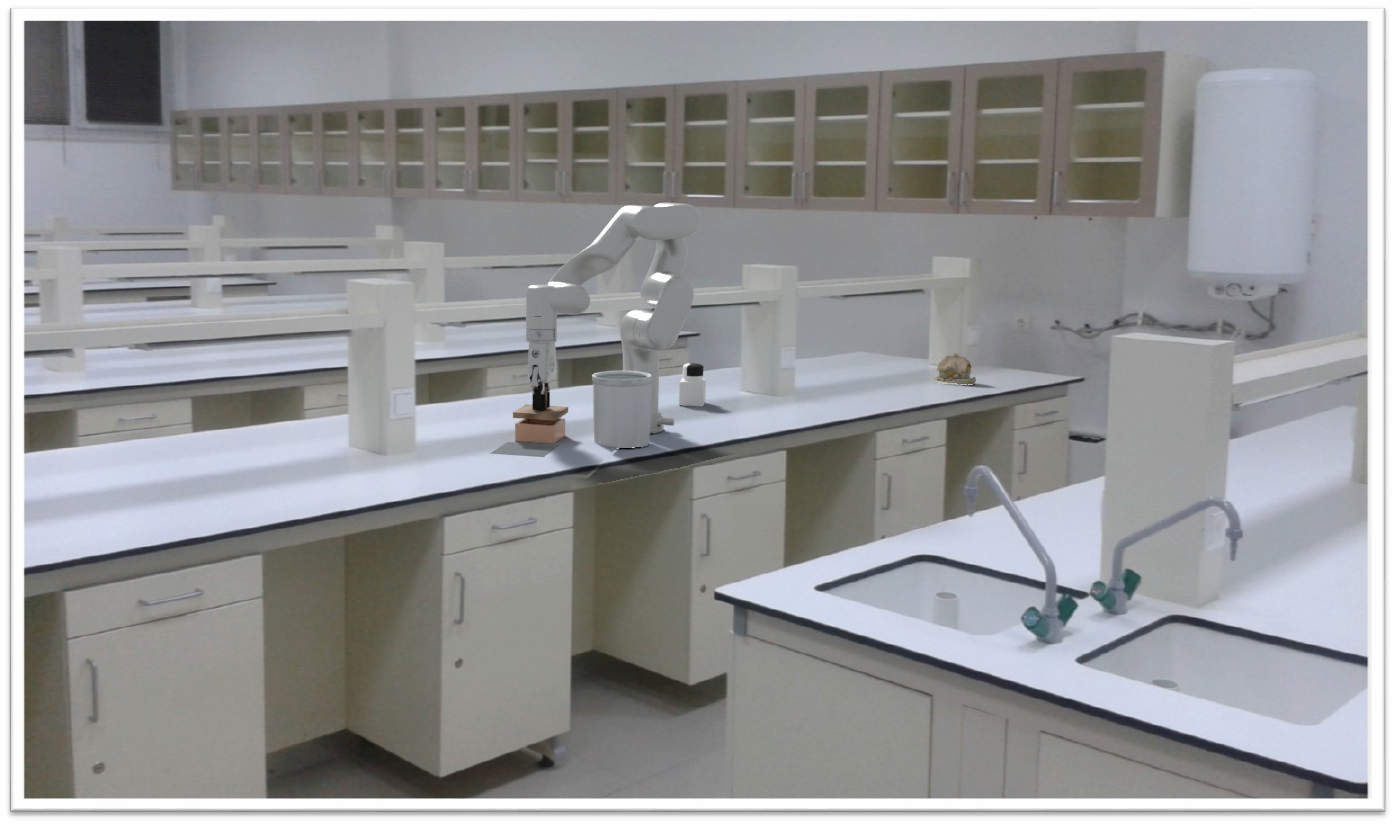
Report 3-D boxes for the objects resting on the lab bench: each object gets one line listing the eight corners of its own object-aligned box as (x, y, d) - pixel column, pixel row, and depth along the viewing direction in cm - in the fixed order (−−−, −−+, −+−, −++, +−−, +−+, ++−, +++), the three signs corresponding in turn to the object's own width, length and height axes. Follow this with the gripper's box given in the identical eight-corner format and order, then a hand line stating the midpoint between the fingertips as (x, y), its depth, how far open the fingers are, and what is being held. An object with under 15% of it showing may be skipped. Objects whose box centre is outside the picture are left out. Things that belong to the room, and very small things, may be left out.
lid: (568, 412, 319) (568, 385, 317) (556, 420, 308) (556, 392, 307) (526, 409, 320) (526, 382, 319) (512, 417, 310) (512, 389, 309)
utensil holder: (578, 444, 313) (579, 374, 309) (615, 435, 325) (616, 367, 322) (626, 453, 305) (627, 381, 301) (662, 443, 317) (663, 374, 314)
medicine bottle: (705, 402, 374) (706, 362, 372) (703, 407, 367) (704, 366, 365) (681, 401, 375) (682, 361, 372) (678, 405, 368) (679, 365, 365)
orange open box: (565, 437, 320) (565, 418, 319) (554, 446, 310) (554, 426, 309) (527, 435, 321) (527, 416, 320) (515, 443, 311) (515, 423, 310)
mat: (558, 447, 308) (558, 445, 308) (543, 459, 296) (543, 456, 295) (507, 444, 310) (507, 441, 310) (490, 455, 298) (490, 453, 297)
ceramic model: (928, 383, 423) (930, 353, 421) (940, 378, 432) (941, 349, 430) (969, 387, 416) (971, 357, 414) (979, 383, 425) (982, 353, 423)
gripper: (546, 340, 302) (546, 415, 305) (564, 332, 318) (564, 403, 321) (516, 338, 303) (516, 414, 307) (536, 330, 319) (536, 402, 323)
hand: (541, 408), depth 314 cm, fingers closed on lid, 3 cm apart
